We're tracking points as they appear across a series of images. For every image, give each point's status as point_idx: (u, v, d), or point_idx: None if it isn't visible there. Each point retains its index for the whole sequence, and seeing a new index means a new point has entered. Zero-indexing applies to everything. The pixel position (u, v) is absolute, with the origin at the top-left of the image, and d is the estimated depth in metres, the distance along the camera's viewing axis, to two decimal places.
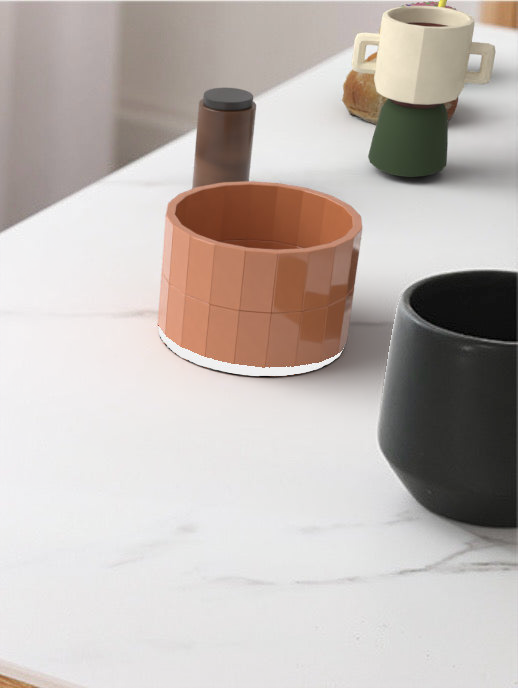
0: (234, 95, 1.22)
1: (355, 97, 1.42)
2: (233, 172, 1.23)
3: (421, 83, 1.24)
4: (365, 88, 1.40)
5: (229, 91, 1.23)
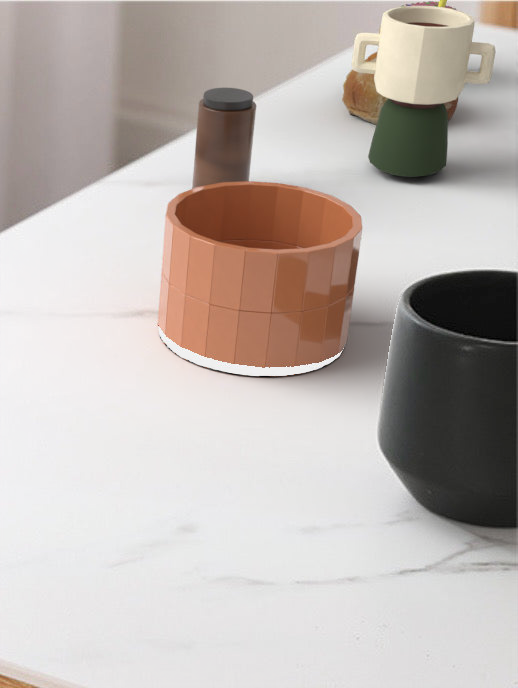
0: (234, 95, 1.22)
1: (355, 97, 1.42)
2: (233, 172, 1.23)
3: (421, 83, 1.24)
4: (365, 88, 1.40)
5: (229, 91, 1.23)
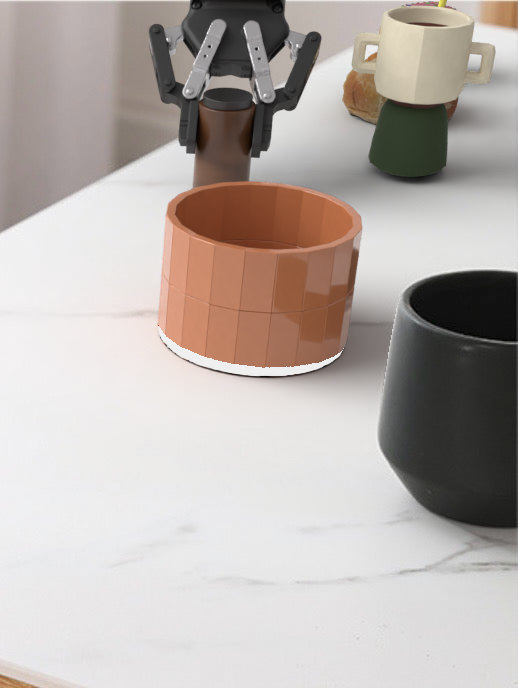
0: (234, 95, 1.22)
1: (355, 97, 1.42)
2: (233, 172, 1.23)
3: (421, 83, 1.24)
4: (365, 88, 1.40)
5: (228, 91, 1.23)
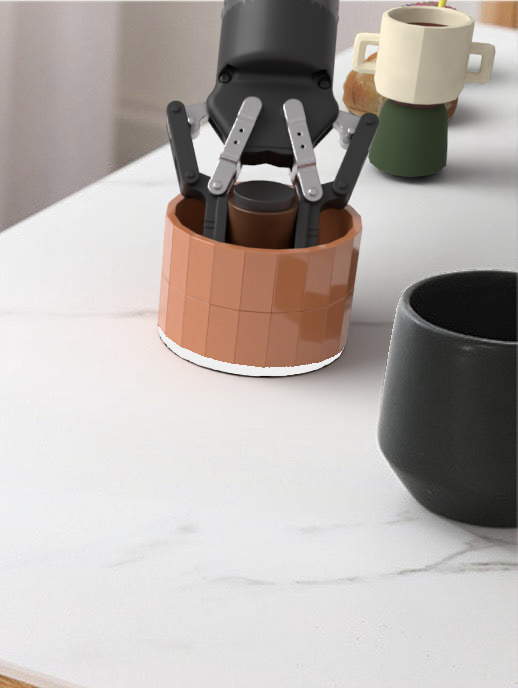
0: (271, 191, 0.99)
1: (355, 97, 1.42)
2: None
3: (421, 83, 1.24)
4: (365, 88, 1.40)
5: (264, 185, 1.00)
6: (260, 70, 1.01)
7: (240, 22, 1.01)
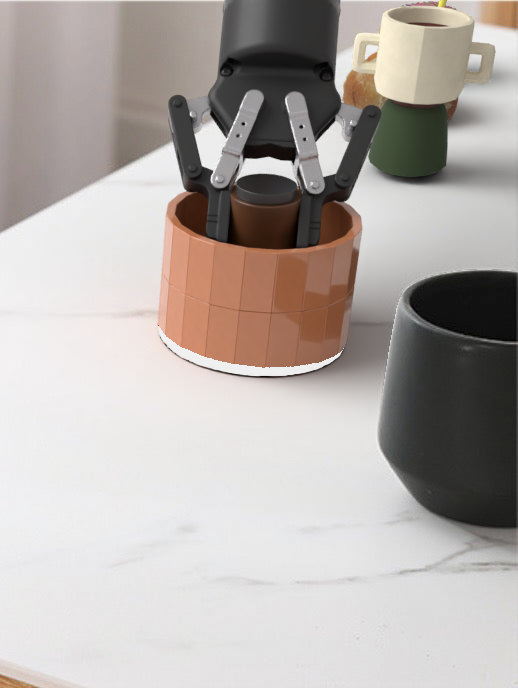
0: (274, 184, 0.99)
1: (355, 97, 1.42)
2: None
3: (421, 83, 1.24)
4: (365, 88, 1.40)
5: (267, 178, 1.00)
6: (262, 63, 1.01)
7: (241, 15, 1.01)
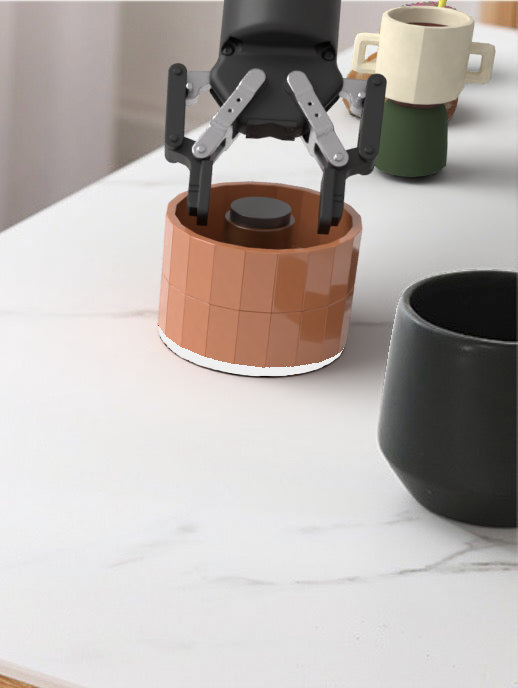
0: (268, 208, 0.99)
1: None
2: None
3: (421, 83, 1.24)
4: None
5: (261, 202, 1.00)
6: (263, 43, 1.00)
7: None
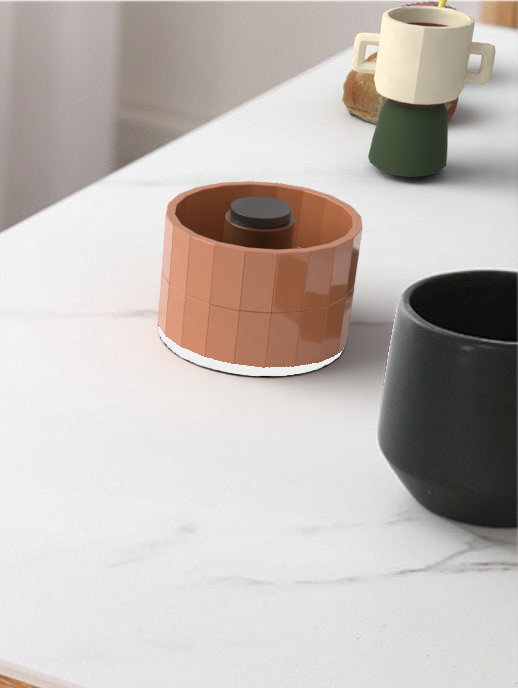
0: (268, 208, 0.99)
1: (355, 97, 1.42)
2: None
3: (421, 83, 1.24)
4: (365, 88, 1.40)
5: (261, 202, 1.00)
6: None
7: None
